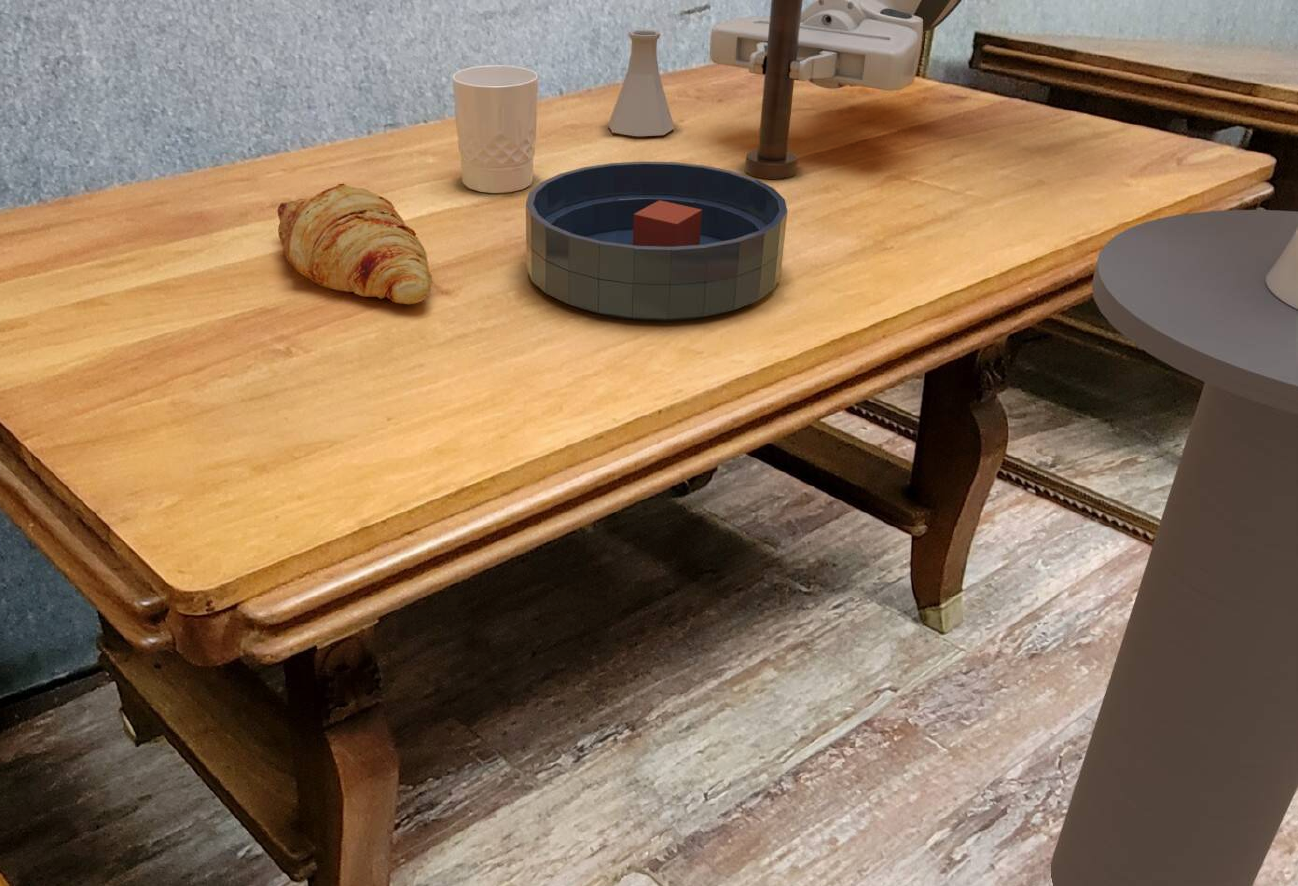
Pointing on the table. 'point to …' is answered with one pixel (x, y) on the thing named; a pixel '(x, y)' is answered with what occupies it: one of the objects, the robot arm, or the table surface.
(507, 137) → the white cup
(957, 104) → the table surface
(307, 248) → the croissant
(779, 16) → the rod
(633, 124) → the flask
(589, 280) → the bowl
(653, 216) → the block
